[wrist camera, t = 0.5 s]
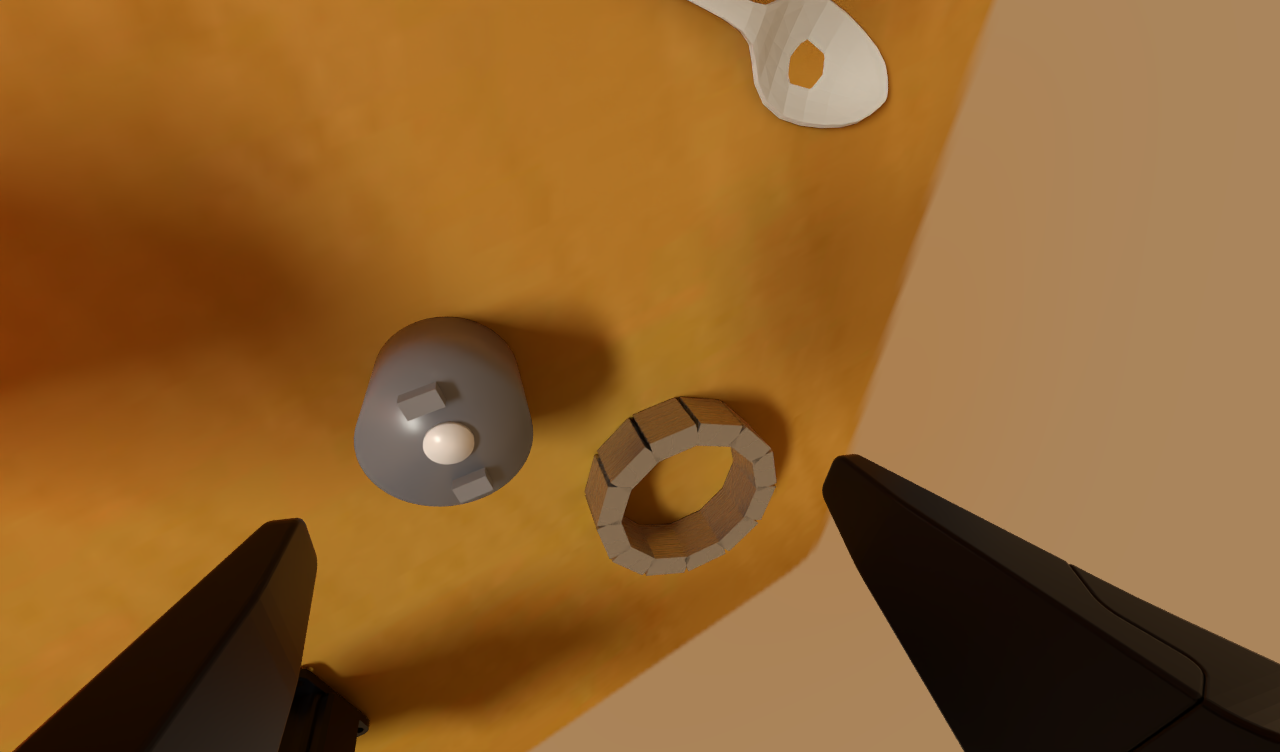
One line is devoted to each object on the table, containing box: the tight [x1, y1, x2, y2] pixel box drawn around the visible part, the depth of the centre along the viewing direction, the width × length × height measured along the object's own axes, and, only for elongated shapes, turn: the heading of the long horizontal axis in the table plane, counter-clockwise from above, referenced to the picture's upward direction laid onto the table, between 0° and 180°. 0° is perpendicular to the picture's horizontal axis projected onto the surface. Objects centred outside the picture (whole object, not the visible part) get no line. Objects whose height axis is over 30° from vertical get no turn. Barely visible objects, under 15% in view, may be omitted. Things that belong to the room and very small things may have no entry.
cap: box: [354, 317, 533, 506], centre depth 18 cm, size 6×6×5 cm
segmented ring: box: [585, 397, 777, 576], centre depth 26 cm, size 10×10×2 cm
